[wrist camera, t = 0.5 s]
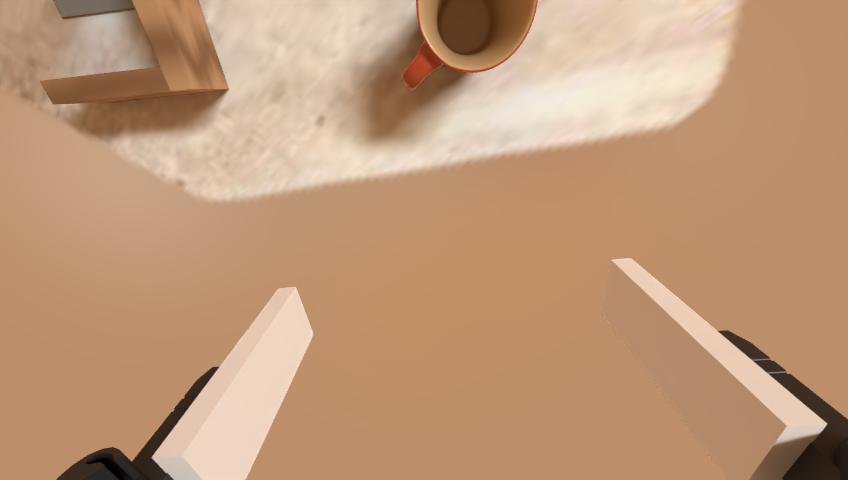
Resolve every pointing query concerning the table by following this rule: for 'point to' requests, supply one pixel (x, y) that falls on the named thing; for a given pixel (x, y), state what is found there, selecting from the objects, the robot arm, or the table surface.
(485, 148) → the table surface
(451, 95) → the table surface
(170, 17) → the corner walls
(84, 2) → the pad
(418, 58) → the mug
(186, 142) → the table surface
